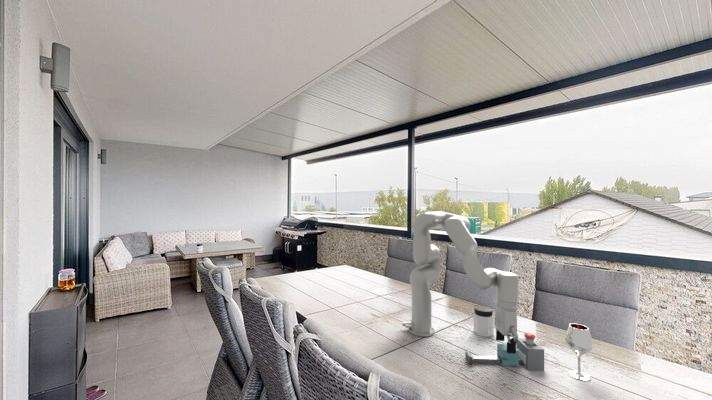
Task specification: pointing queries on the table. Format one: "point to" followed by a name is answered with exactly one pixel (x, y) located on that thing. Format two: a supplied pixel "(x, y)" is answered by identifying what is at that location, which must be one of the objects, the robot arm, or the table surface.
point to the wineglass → (579, 346)
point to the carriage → (507, 355)
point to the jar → (483, 321)
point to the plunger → (529, 339)
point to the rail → (485, 359)
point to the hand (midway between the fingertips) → (505, 346)
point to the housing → (531, 355)
